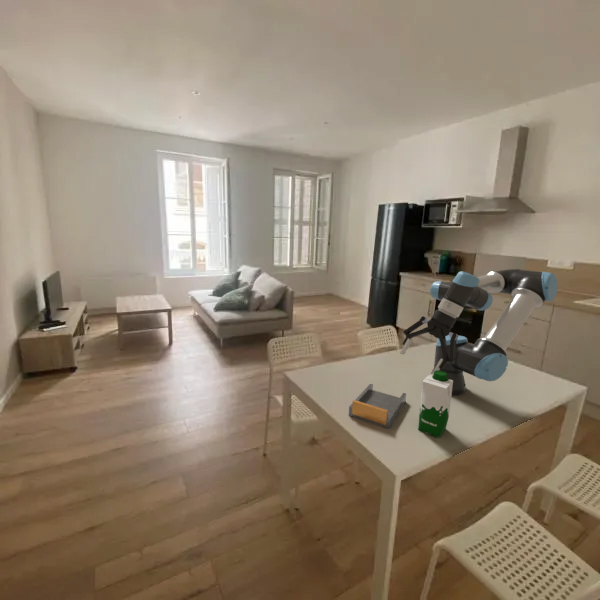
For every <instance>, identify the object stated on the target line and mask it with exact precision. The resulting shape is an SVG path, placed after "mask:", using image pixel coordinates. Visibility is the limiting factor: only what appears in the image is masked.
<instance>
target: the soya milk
mask: <svg viewBox="0 0 600 600" xmlns="http://www.w3.org/2000/svg"><path fill="white" fill-rule="evenodd" d="M421 385H422V386H421V393H420V394H421V396H420V403H419V404H420V405H419V414H418V428H417V430H418V431H421V432H424V433H426V434H429V435H431V436H433V437H435V436H436V438H438V439H439V438H441V436H442V435H443V433H444V432H445V430H446V429H447V425H448V422H449V417H450V410H451V409H450V408H451V402H452V386H453V380H450V379H447V373H446V372H443V371H438V370H437V371H434V375H433V374H431V373H429V374H428V375H427V376H426V377H425V378H424V379H423V380H422V383H421Z"/></svg>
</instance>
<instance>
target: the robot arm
mask: <svg viewBox="0 0 600 600" xmlns="http://www.w3.org/2000/svg"><path fill="white" fill-rule="evenodd" d="M558 288H559V285H558V277H557V275H556V274H555V273H553V272H548V271H544V270H543V271H537V270H529V269H528V270H527V269H521V268H509V269H501V270H497V271H496V270H495V271H490V272H488V273H486V274H484V275H480V276H476V275H473V274H471V273H468V272H466V271H463V270H462V271H459V272H458V273H457V274H456V276H455V277H454V278H453V279H452V280H451V281H444V280H441V281H440V280H439V281H438V280H437V281H434V282H432V284H431V286H430V288H429V289H430V290H429V294H430V296H431V298H433V299H434V300H438V301H440V303H439V304H438V306H437V308H438V309H436V310H435V311H434V312H433V314H432V316H431V318H430V319H428V318H427V317H426V316H421V317H420V318H419V320H418V321H416V322H415V323H414V324H412V325H410V326H409V327H408V328H406V329H405V330H404V331H403V334H404V335H405V338H404V340H403V341H402V349H401V350H400V351H399V354H400V355H405V354H406V353H407V350H408V349H409V347H410V346H411V344H412V342H413V338H415V337H418V336H422V335H424V334H429V335H432V336H433V338H436V344H435V353H434V362H433V363H434V364H433V369H432V370H431V372H430V374H433V375H434V371H437V370H438V371H443V372H446V373H447V379H450V380H453V386H452V395H453V396H455V395H462V394H464V393H465V392H466V389H467V388H466V387H467V386H466V382H465V381H466V380H465V377H464V373H466V374H469V375H471V376H473V377H476V378H478V379H479V380H483V381H487V382H494V381H496V380H499V379H500V378H502V376H503V375H504V374H505V372H506V370H507V367H508V365H509V360H508V357H507V356H508V353H507V351H506V350H507V349H508V348H509V346H510V345H511V343H512V341H513V340H514V338H515V337H516V336H517V334H518V333H519V331H520V330H521V328H522V327H523V325H524V324H525V322H526V321H527V319H528V318H529V316H530V315H531V314H532V312H533V310H534V309H535V308H540V307H542V305H544V302H553V301H554V300H555V299H556V296H557V294H558ZM492 294H505V295H510V296H511V299H510V301H509V302H508V303H507V305H506V306H505V308H504V309H503V310H502V311H501V313H500V314H499V316H498V317H497V319H496V320H495V322H494V323H493V325H492V326H491V327H490V328H489V330H488V331H487V333H486V334H485V336H484V337H482V338H477V339H476V341H475V343H474V344H473V343H469V342H468V338H467V337H466V336H463V335H458V334H457V333H454V332H451V330H452V328H453V327H454V325H455V323H456V322H457V318H459V317H460V315H461V314H462V312H463V310H464V308H465V307H470V308H472V309H474V310H477V311H486V310H488V309H490V307H491V306H492V304H493V301H494V299H493V296H492ZM424 324H427V326H426V327H424V328H422V329H419V330H416V329H418V328H420V327H421V326H422V325H424ZM413 331H414V332H413ZM452 395H451V396H452Z"/></svg>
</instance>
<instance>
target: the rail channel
mask: <svg viewBox="0 0 600 600" xmlns="http://www.w3.org/2000/svg"><path fill="white" fill-rule="evenodd" d="M373 388H374V384H373V383H370V384H368V385H367V387H366V388H365V389H364V390H363V391H362V392H361V393H360V394H359V395H358V396H357V398H355V399H353V400H352V403H350V405H349V406H348V416H349V417H353V418H355V419H358V420H362V421H363V422H364V421H365V422H367V423H370V424H373V425H376V426H380V427H382V428H385V429H388V430H390V428H391V427H392V425H393V423H394V422H395V420H396V418H397V417H398V415H399V413H400V412H401V410H402V408H403V407H404V405H405V403H406V400H407V393H406V392H403V393H401V395H400V397H399V396H397V395H392V394H389V393H385V392H381V391H378V390H374V389H373Z"/></svg>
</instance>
